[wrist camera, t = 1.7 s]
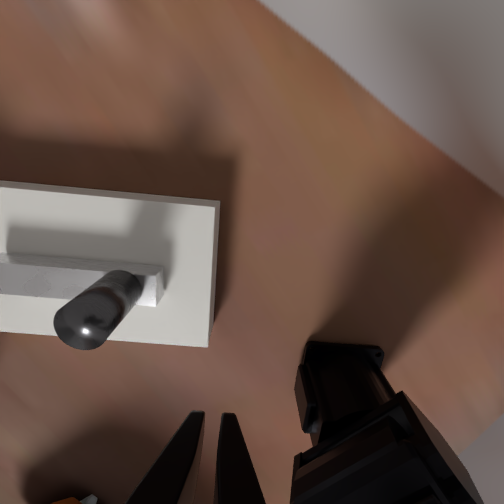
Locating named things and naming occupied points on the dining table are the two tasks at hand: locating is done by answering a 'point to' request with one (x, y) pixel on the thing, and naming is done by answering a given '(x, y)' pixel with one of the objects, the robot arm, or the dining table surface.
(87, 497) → the orange tape measure
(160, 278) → the bolt
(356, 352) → the robot arm
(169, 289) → the door lock board
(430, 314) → the dining table surface
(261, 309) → the dining table surface
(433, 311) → the dining table surface
